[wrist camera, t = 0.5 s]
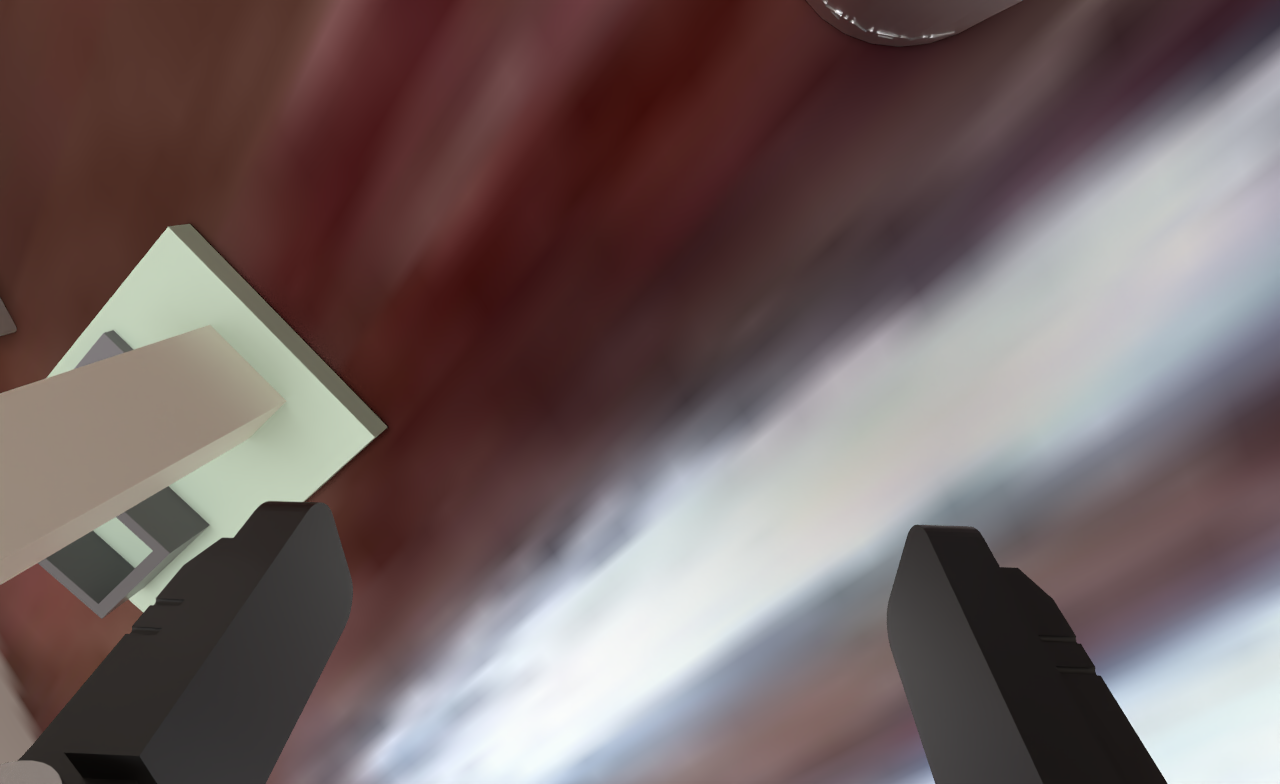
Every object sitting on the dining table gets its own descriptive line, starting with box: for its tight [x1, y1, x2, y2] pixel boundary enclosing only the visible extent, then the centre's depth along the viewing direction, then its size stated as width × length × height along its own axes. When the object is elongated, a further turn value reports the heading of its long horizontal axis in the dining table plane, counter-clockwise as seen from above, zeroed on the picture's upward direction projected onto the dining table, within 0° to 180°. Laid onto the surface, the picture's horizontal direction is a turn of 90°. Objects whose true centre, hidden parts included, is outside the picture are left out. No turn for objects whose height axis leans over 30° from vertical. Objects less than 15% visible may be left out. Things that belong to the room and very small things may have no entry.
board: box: [38, 224, 387, 618], centre depth 31 cm, size 18×12×4 cm, turn 131°
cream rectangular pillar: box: [0, 325, 286, 585], centre depth 22 cm, size 3×4×17 cm, turn 41°
